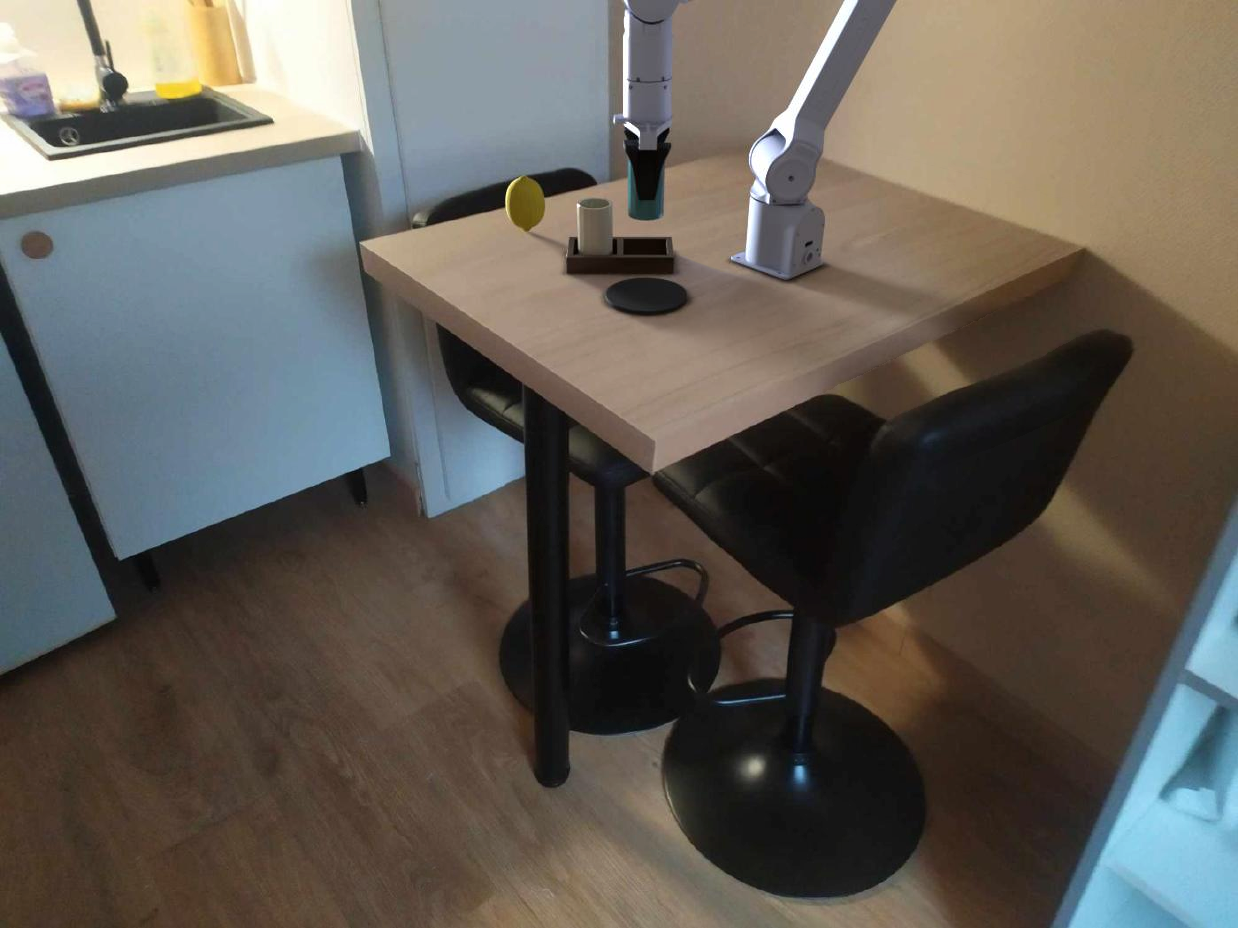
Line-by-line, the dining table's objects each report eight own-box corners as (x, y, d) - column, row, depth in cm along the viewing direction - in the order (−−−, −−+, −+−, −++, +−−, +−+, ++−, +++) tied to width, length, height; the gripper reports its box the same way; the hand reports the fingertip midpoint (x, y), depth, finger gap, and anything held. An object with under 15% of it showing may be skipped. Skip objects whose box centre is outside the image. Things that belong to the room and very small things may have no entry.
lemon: (540, 240, 129) (537, 183, 125) (502, 237, 130) (498, 180, 126) (550, 226, 134) (548, 170, 129) (513, 223, 135) (510, 168, 130)
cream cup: (619, 263, 122) (619, 203, 118) (594, 272, 120) (593, 211, 115) (597, 253, 125) (596, 195, 120) (571, 262, 122) (569, 203, 118)
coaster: (704, 298, 113) (704, 294, 113) (645, 322, 107) (645, 318, 107) (647, 274, 119) (647, 270, 119) (588, 296, 113) (588, 292, 113)
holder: (673, 273, 119) (674, 257, 118) (566, 273, 119) (566, 257, 118) (671, 252, 125) (671, 236, 124) (569, 252, 125) (569, 236, 124)
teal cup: (670, 215, 117) (672, 150, 112) (645, 223, 114) (646, 158, 110) (646, 206, 120) (647, 143, 115) (620, 214, 117) (620, 150, 112)
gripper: (614, 64, 114) (615, 174, 121) (612, 92, 102) (613, 212, 109) (671, 64, 114) (668, 174, 121) (676, 91, 102) (672, 212, 109)
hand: (646, 192), depth 115 cm, fingers closed on teal cup, 4 cm apart
